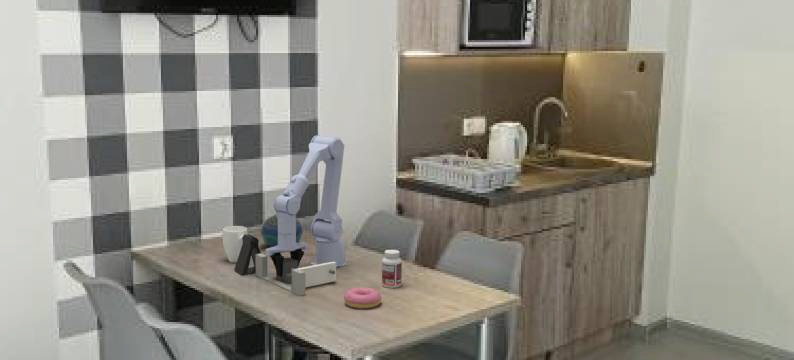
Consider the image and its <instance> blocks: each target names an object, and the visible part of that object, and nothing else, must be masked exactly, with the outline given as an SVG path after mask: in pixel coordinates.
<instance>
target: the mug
mask: <svg viewBox="0 0 794 360" xmlns="http://www.w3.org/2000/svg"><path fill="white" fill-rule="evenodd" d="M245 234H246V235H248V228H247V227H245V226H243V225H231V226H224V227H223V228H222V246H223V249H224V251H225V254H226V257H227V259H228V260H227V261H229V263H235V264H236V263H237V260H238V256H239V253H240V250H241V247H242V243H243V240H242V237H243V235H245Z"/></svg>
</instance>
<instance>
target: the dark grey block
mask: <svg viewBox="0 0 794 360" xmlns="http://www.w3.org/2000/svg"><path fill="white" fill-rule="evenodd" d="M292 268H294V269H297V268H299V266H298V260H295V259H293V258H291V256H290V257H289V256H287V257H284V260H283V266H282V276H278V275H277V273H276V272H275V278H276V279H277V280H281V281H283V282H284V283H287V284H291V269H292Z"/></svg>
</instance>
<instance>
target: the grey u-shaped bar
mask: <svg viewBox="0 0 794 360" xmlns="http://www.w3.org/2000/svg"><path fill="white" fill-rule="evenodd" d="M255 276H257V277H259V278H260V279H262V280H264V281H267V282H269V283H271V284H274V285H275V286H278V287H280V288H282V289H284V290H286V291H288V292H290V293H293V294H295V295H297V296H299V297H301V296H305V295H306V287H305V272H304V271H301V270H299V269H295V270H294V268H292V269H291V286H289V285H287V284H285V283H283V282H281V281H279V280H278V279H277V280H276V279H274V278H272V277H269V276H268V255H266V254H263V253H260V254H256V273H255Z"/></svg>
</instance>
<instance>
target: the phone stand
mask: <svg viewBox="0 0 794 360" xmlns="http://www.w3.org/2000/svg"><path fill="white" fill-rule="evenodd" d="M242 240H243V243H242V247H241V250H240V253H239V256H238V260H237V262H235V267H234V271H235V272H236V273H238V274H240V276H247V275H253V274H256V254H260V253H261V250H260V247H259V246H260V245H259V243H260V242H259V238H257V237H255V236H254V235H251V234H250V233H247V235H246V234H245V235H243V237H242ZM261 254H262V253H261ZM251 260H252V263H253V264H252V265H253V266H251V267H249V266H250V261H251Z"/></svg>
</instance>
